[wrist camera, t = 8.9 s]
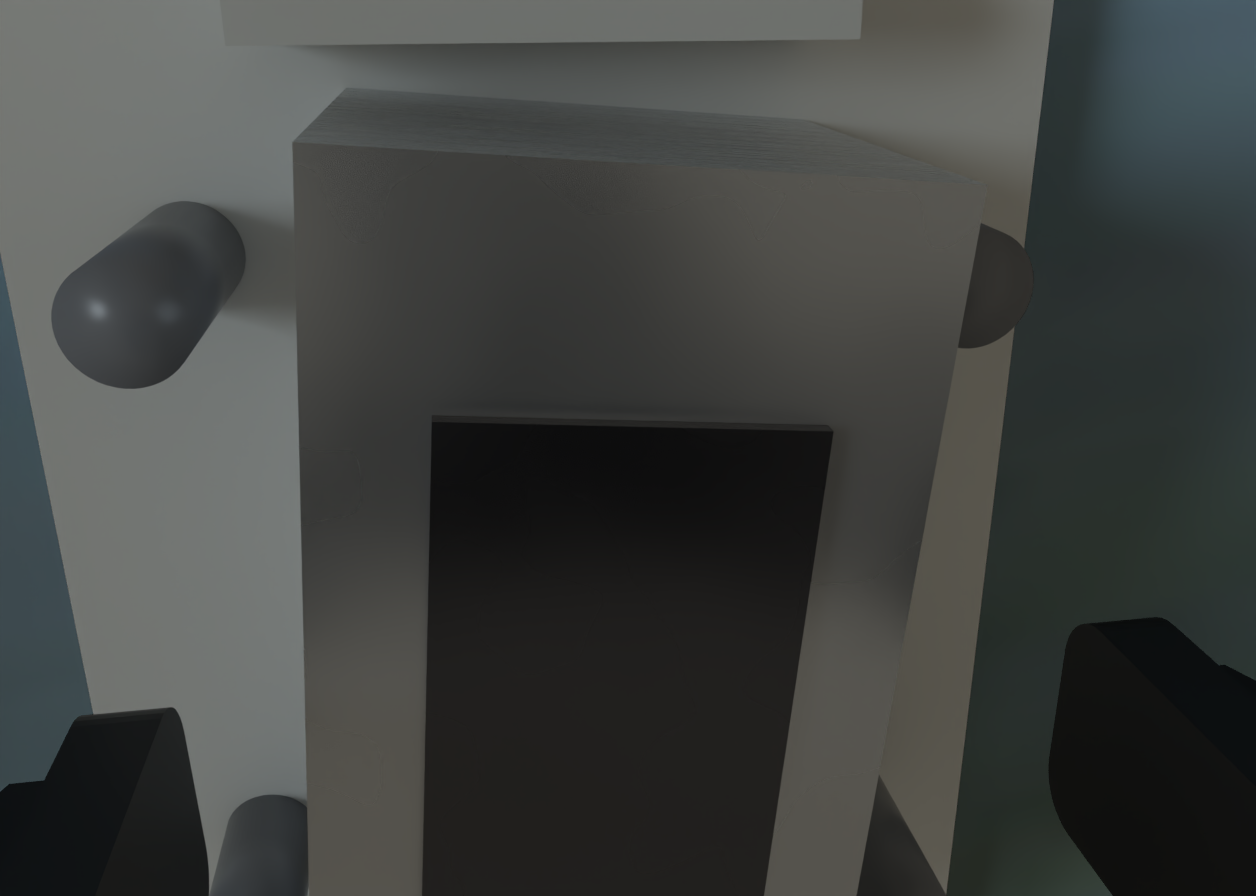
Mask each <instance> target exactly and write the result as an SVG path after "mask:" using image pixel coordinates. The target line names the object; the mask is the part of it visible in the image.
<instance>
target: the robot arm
mask: <svg viewBox="0 0 1256 896" xmlns="http://www.w3.org/2000/svg"><path fill="white" fill-rule="evenodd" d="M1049 784H1050V790H1051V795H1052V799H1053V803H1054V806H1055V809H1056V812H1057V814H1058V817H1059V819H1060V821H1061V823H1062V825H1063V827H1064V829H1065V830H1066V832H1067V833H1068V835H1069V836H1070V838H1071V839H1072V840H1073V842H1074V843H1075V844H1076V846H1077V847H1078V849H1079V850H1080V851H1081V853H1082V854H1083V855H1084V857H1085V858H1086V860H1087V861H1088V862H1089V864H1090V865H1091V866H1092V868H1093V869H1094V871H1095V872H1096V873H1097V875H1098V876H1099V877H1100V879H1101V880H1102V882H1103V883H1104V884H1105V886H1106V887H1107V888H1108V890H1109V891H1110V893H1111V894H1112V895H1113V896H1256V681H1255V680H1253V679H1251V678H1249V677H1247V676H1245V675H1243V674H1241V673H1240V672H1238V671H1236V670H1234V669H1232V668H1230V667H1228V666H1226V665H1218V664H1217V663H1215V662H1214V661H1213V660H1212V659H1211V658H1210V657H1209V656H1208V655H1206V654H1205V653H1204V652H1203V651H1202V650H1201V649H1200V648H1199V647H1197V646H1196V645H1195V644H1194V643H1193V642H1192V641H1191V640H1190V639H1189V638H1187V637H1186V636H1185V635H1184V634H1183V633H1182V632H1181V631H1180V630H1178V629H1177V628H1176V627H1175V626H1174V625H1173V624H1171V623H1170V622H1169V621H1167V620H1165V619H1163V618H1158V617H1153V618H1143V619H1132V620H1121V621H1111V622H1100V623H1089V624H1081V625H1079V626H1077V627H1076V628H1075V629H1074V630H1073V631H1072V633H1071V634H1070V636H1069V638H1068V641H1067V645H1066V649H1065V656H1064V662H1063V669H1062V676H1061V683H1060V689H1059V696H1058V703H1057V709H1056V716H1055V723H1054V730H1053V736H1052V743H1051V750H1050V757H1049ZM0 896H209V866H208V856H207V849H206V844H205V838H204V833H203V828H202V823H201V817H200V812H199V807H198V802H197V796H196V791H195V786H194V780H193V775H192V770H191V765H190V759H189V754H188V749H187V744H186V738H185V733H184V729H183V725H182V721H181V718H180V716H179V714H178V712H177V711H176V709H174V708H173V707H167V708H157V709H146V710H135V711H124V712H114V713H103V714H92V715H82V716H79V717H78V718H77V719H76V720H75V721H74V722H73V724H72V725H71V727H70V729H69V731H68V733H67V735H66V737H65V739H64V741H63V743H62V745H61V747H60V750H59V752H58V754H57V756H56V758H55V760H54V762H53V764H52V766H51V768H50V770H49V772H48V774H47V776H46V778H45V780H44V781H35V782H25V783H15V784H9V785H8V786H6V787H5V788H4V789H3V790H2V791H1V792H0Z"/></svg>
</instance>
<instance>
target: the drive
mask: <svg viewBox="0 0 1256 896" xmlns="http://www.w3.org/2000/svg"><path fill="white" fill-rule="evenodd" d="M292 151H293V196H294V240H295V285H296V330H297V375H298V420H299V465H300V509H301V554H302V599H303V644H304V689H305V733H306V778H307V823H308V868H309V896H856V895H857V890H858V885H859V879H860V874H861V868H862V863H863V858H864V852H865V847H866V841H867V836H868V830H869V825H870V820H871V814H872V809H873V803H874V798H875V793H876V787H877V782H878V776H879V771H880V766H881V760H882V755H883V749H884V744H885V739H886V733H887V728H888V722H889V717H890V712H891V706H892V701H893V695H894V690H895V684H896V679H897V674H898V668H899V663H900V657H901V652H902V647H903V641H904V636H905V630H906V625H907V620H908V614H909V609H910V603H911V598H912V593H913V587H914V582H915V576H916V571H917V565H918V560H919V555H920V549H921V544H922V538H923V533H924V528H925V522H926V517H927V511H928V506H929V501H930V495H931V490H932V484H933V479H934V474H935V468H936V463H937V457H938V452H939V447H940V441H941V436H942V430H943V425H944V419H945V414H946V409H947V403H948V398H949V392H950V387H951V382H952V376H953V371H954V365H955V360H956V355H957V349H958V344H959V338H960V333H961V328H962V322H963V317H964V311H965V306H966V301H967V295H968V290H969V284H970V279H971V273H972V268H973V263H974V257H975V252H976V246H977V241H978V236H979V230H980V225H981V219H982V214H983V209H984V203H985V198H986V192H987V187H988V185H986V184H984V183H981V182H978V181H975V180H972V179H970V178H967V177H964V176H961V175H958V174H955V173H953V172H950V171H947V170H944V169H941V168H939V167H936V166H933V165H930V164H927V163H924V162H922V161H919V160H916V159H913V158H910V157H908V156H905V155H902V154H899V153H896V152H893V151H891V150H888V149H885V148H882V147H879V146H877V145H874V144H871V143H868V142H865V141H862V140H860V139H857V138H854V137H851V136H848V135H846V134H843V133H840V132H837V131H834V130H831V129H829V128H826V127H823V126H820V125H817V124H815V123H812V122H809V121H806V120H803V119H789V118H775V117H760V116H746V115H732V114H717V113H703V112H689V111H674V110H660V109H646V108H631V107H617V106H603V105H588V104H574V103H560V102H545V101H531V100H517V99H502V98H488V97H474V96H459V95H445V94H431V93H416V92H402V91H388V90H373V89H359V88H345V89H344V90H343V91H342V92H341V93H340V94H339V95H338V96H337V97H336V98H335V99H334V100H333V101H332V103H331V104H330V105H329V106H328V107H327V108H326V109H325V110H324V111H323V112H322V113H321V114H320V115H319V116H318V117H317V118H316V119H315V120H314V121H313V122H312V123H311V124H310V125H309V126H308V127H307V128H306V129H305V130H304V131H303V132H302V133H301V134H300V135H299V136H298V137H297V138H296V139H295V140H294V141H293V142H292Z"/></svg>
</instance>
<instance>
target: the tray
mask: <svg viewBox="0 0 1256 896" xmlns="http://www.w3.org/2000/svg"><path fill="white" fill-rule="evenodd" d="M1053 4H1054V0H0V254H1V259H2V264H3V269H4V274H5V279H6V284H7V289H8V294H9V299H10V304H11V309H12V313H13V318H14V323H15V328H16V333H17V338H18V343H19V348H20V353H21V358H22V363H23V368H24V373H25V378H26V383H27V388H28V393H29V398H30V403H31V408H32V413H33V417H34V422H35V427H36V432H37V437H38V442H39V447H40V452H41V457H42V462H43V467H44V472H45V477H46V482H47V487H48V492H49V497H50V502H51V507H52V512H53V517H54V521H55V526H56V531H57V536H58V541H59V546H60V551H61V556H62V561H63V566H64V571H65V576H66V581H67V586H68V591H69V596H70V601H71V606H72V611H73V616H74V621H75V625H76V630H77V635H78V640H79V645H80V650H81V655H82V660H83V665H84V670H85V675H86V680H87V685H88V690H89V695H90V700H91V705H92V710H93V714H103V713H114V712H124V711H135V710H146V709H157V708H167V707H173V708H174V709H176V711H177V712H178V714H179V716H180V718H181V721H182V725H183V729H184V733H185V738H186V744H187V749H188V754H189V759H190V765H191V770H192V775H193V780H194V786H195V791H196V796H197V802H198V807H199V812H200V817H201V823H202V828H203V833H204V838H205V844H206V849H207V856H208V866H209V896H309V868H308V823H307V778H306V733H305V689H304V644H303V599H302V554H301V509H300V465H299V420H298V375H297V330H296V285H295V240H294V196H293V151H292V142H293V141H294V140H295V139H296V138H297V137H298V136H299V135H300V134H301V133H302V132H303V131H304V130H305V129H306V128H307V127H308V126H309V125H310V124H311V123H312V122H313V121H314V120H315V119H316V118H317V117H318V116H319V115H320V114H321V113H322V112H323V111H324V110H325V109H326V108H327V107H328V106H329V105H330V104H331V103H332V101H333V100H334V99H335V98H336V97H337V96H338V95H339V94H340V93H341V92H342V91H343V90H344V89H345V88H359V89H373V90H388V91H402V92H416V93H431V94H445V95H459V96H474V97H488V98H502V99H517V100H531V101H545V102H560V103H574V104H588V105H603V106H617V107H631V108H646V109H660V110H674V111H689V112H703V113H717V114H732V115H746V116H760V117H775V118H789V119H803V120H806V121H809V122H812V123H815V124H817V125H820V126H823V127H826V128H829V129H831V130H834V131H837V132H840V133H843V134H846V135H848V136H851V137H854V138H857V139H860V140H862V141H865V142H868V143H871V144H874V145H877V146H879V147H882V148H885V149H888V150H891V151H893V152H896V153H899V154H902V155H905V156H908V157H910V158H913V159H916V160H919V161H922V162H924V163H927V164H930V165H933V166H936V167H939V168H941V169H944V170H947V171H950V172H953V173H955V174H958V175H961V176H964V177H967V178H970V179H972V180H975V181H978V182H981V183H984V184H986V185H988V187H987V192H986V198H985V203H984V209H983V214H982V219H981V225H980V230H979V236H978V241H977V246H976V252H975V257H974V263H973V268H972V273H971V279H970V284H969V290H968V295H967V301H966V306H965V311H964V317H963V322H962V328H961V333H960V338H959V344H958V349H957V355H956V360H955V365H954V371H953V376H952V382H951V387H950V392H949V398H948V403H947V409H946V414H945V419H944V425H943V430H942V436H941V441H940V447H939V452H938V457H937V463H936V468H935V474H934V479H933V484H932V490H931V495H930V501H929V506H928V511H927V517H926V522H925V528H924V533H923V538H922V544H921V549H920V555H919V560H918V565H917V571H916V576H915V582H914V587H913V593H912V598H911V603H910V609H909V614H908V620H907V625H906V630H905V636H904V641H903V647H902V652H901V657H900V663H899V668H898V674H897V679H896V684H895V690H894V695H893V701H892V706H891V712H890V717H889V722H888V728H887V733H886V739H885V744H884V749H883V755H882V760H881V766H880V771H879V776H878V782H877V787H876V793H875V798H874V803H873V809H872V814H871V820H870V825H869V830H868V836H867V841H866V847H865V852H864V858H863V863H862V868H861V874H860V879H859V885H858V890H857V895H856V896H947V895H946V892H947V883H948V875H949V867H950V858H951V850H952V842H953V833H954V825H955V817H956V809H957V800H958V792H959V784H960V775H961V767H962V759H963V751H964V742H965V734H966V726H967V717H968V709H969V701H970V692H971V684H972V676H973V668H974V659H975V651H976V643H977V634H978V626H979V618H980V610H981V601H982V593H983V585H984V576H985V568H986V560H987V551H988V543H989V535H990V527H991V518H992V510H993V502H994V493H995V485H996V477H997V469H998V460H999V452H1000V444H1001V435H1002V427H1003V419H1004V410H1005V402H1006V394H1007V386H1008V377H1009V369H1010V361H1011V352H1012V344H1013V336H1014V328H1015V325H1016V324H1017V323H1018V322H1019V320H1020V319H1021V318H1022V316H1023V315H1024V313H1025V311H1026V309H1027V307H1028V305H1029V302H1030V299H1031V296H1032V291H1033V282H1034V278H1033V269H1032V264H1031V262H1030V259H1029V256H1028V255H1027V253H1026V251H1025V250H1024V245H1025V236H1026V228H1027V220H1028V211H1029V203H1030V195H1031V187H1032V178H1033V170H1034V162H1035V153H1036V145H1037V137H1038V129H1039V120H1040V112H1041V104H1042V95H1043V87H1044V79H1045V70H1046V62H1047V54H1048V46H1049V37H1050V29H1051V21H1052V12H1053Z"/></svg>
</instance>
